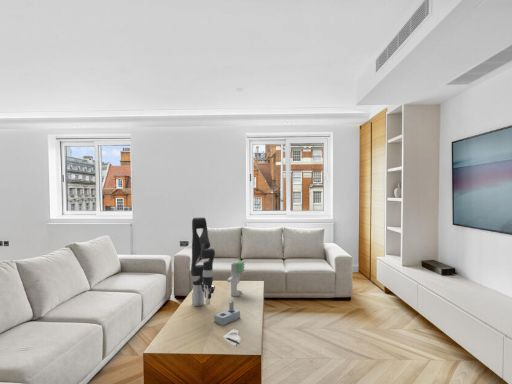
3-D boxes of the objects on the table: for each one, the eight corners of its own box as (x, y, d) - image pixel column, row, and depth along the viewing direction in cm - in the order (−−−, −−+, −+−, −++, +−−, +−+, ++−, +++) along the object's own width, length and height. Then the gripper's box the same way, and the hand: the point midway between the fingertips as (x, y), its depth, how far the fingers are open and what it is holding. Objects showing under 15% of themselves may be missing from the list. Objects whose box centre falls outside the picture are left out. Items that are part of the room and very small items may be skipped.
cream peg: (204, 304, 240) (204, 288, 240) (208, 303, 242) (208, 287, 242) (207, 305, 238) (207, 289, 238) (210, 304, 240) (210, 288, 240)
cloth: (226, 329, 222) (226, 326, 222) (246, 330, 221) (246, 326, 221) (218, 347, 196) (218, 343, 196) (240, 348, 195) (240, 344, 195)
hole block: (214, 321, 233) (214, 315, 233) (231, 314, 247) (231, 308, 247) (222, 325, 227) (222, 318, 227) (240, 317, 241) (239, 310, 241)
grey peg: (228, 317, 240) (228, 301, 240) (231, 316, 243) (231, 300, 243) (231, 319, 238) (231, 302, 238) (234, 317, 241) (234, 301, 241)
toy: (238, 300, 280) (238, 265, 280) (227, 299, 282) (227, 265, 282) (247, 289, 309) (247, 258, 309) (237, 289, 311) (237, 258, 311)
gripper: (197, 274, 241) (197, 297, 242) (210, 278, 232) (210, 301, 233) (205, 272, 247) (205, 294, 247) (218, 276, 238) (218, 299, 238)
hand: (207, 298), depth 240 cm, fingers closed on cream peg, 3 cm apart
